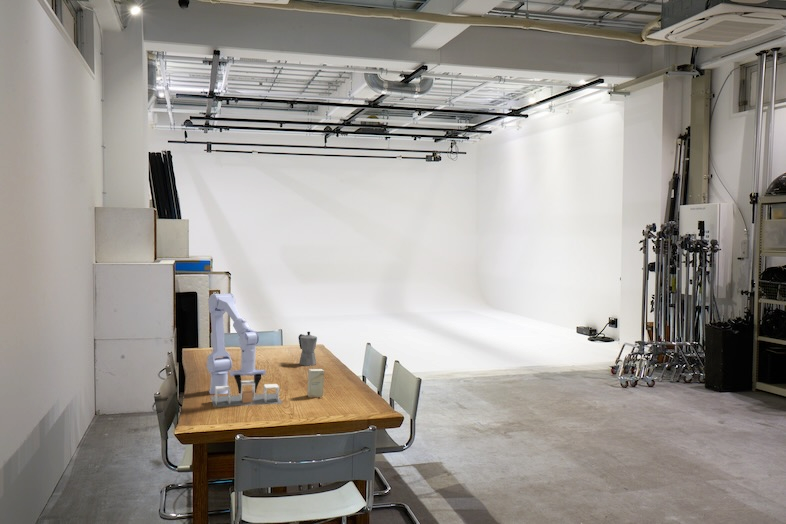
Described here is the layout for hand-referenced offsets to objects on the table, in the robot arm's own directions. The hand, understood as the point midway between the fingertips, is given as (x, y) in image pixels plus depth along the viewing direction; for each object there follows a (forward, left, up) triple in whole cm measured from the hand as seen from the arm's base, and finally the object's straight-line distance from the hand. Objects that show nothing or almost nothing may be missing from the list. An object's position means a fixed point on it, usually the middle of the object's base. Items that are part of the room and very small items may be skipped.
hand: (247, 392), depth 277 cm
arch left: (0, -10, -4) cm, 11 cm away
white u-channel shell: (0, 0, -2) cm, 2 cm away
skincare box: (-4, +30, -5) cm, 31 cm away
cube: (0, 0, -4) cm, 4 cm away
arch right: (0, +10, -4) cm, 11 cm away
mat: (-2, 0, -4) cm, 5 cm away
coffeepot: (-76, +41, -5) cm, 86 cm away
